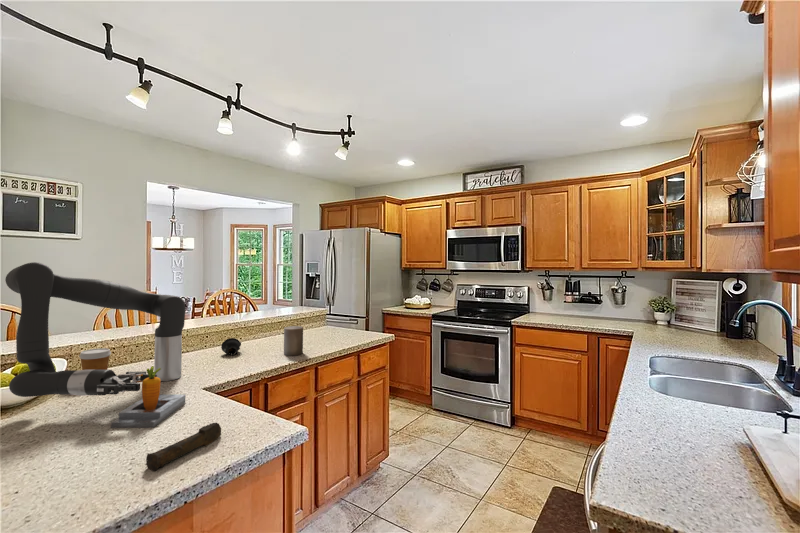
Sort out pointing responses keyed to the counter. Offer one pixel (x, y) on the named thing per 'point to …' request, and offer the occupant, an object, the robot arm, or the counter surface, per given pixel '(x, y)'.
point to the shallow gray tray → (149, 412)
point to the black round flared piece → (231, 346)
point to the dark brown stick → (183, 446)
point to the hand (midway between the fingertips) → (148, 382)
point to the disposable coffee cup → (95, 359)
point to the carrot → (151, 389)
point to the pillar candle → (293, 340)
